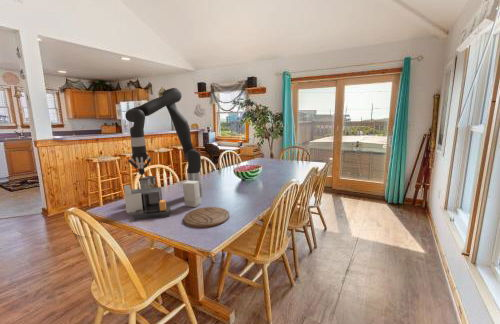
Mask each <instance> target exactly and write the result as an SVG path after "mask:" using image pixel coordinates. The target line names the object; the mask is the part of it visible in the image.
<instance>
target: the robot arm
mask: <svg viewBox="0 0 500 324" xmlns="http://www.w3.org/2000/svg"><path fill="white" fill-rule="evenodd" d="M182 98H183V97H182V92H181V91H180V89H178V88H176V87H171V88H167V89H165V90H163V91H162V93H161V96H159V97H157V98H154V99H151V100H149V101H146V102H144V103H142V104H140V105H139V106H136V107H135V106H134V107H132V108H129V109H128V110H126V112H125V115H124V116H125V119H126V120H127V121H128V122H130V123H133V125H132V126H131V127H130V128H129V132H130V133H129V134H130V146H131V154H132V155H131V158H130V159H128V163H129V164H130V165H132V166H133V167H134V168H135V169H138V174H139V175H140V176H144V175H145V171H146V170H145V168H147V167H148V166H149V164H150V163H151V161H153V160H152V159H153V158H151V157H149V155H148V153H147V145H146V143H147V142H146V139H145V138H146V137H145V131H144V130H145V129H144V128H145V122H146V117H148V116H151V115H153V114H155V113H156V112H158V111H159V110H162V109H163V108H166V109H167V111H168V113H169V116H170V119H171V122H172V124H173V127H174V129H175V133H176V134H177V138H178V139H179V142H180V144H181V148H182V152H183V155H184V156H183V157H184V158H185V161H186V162H187V169H186V173H187V175H186V176H187V181H198V182H199V192H200V197H202V196H203V192H202V191H203V190H202V178H201V177H202V176H201V168H202V157H201V153H200V152H199V151H198V150H196V149H195V147H194V145H193V143H192V137H191V129H190V125H189V123H188V120H187V119H186V118H185V117H184V115H183V114H182V113H181V112H180V111H179V109H178V107H177V105H176V103H179V102H180V100H181V99H182ZM146 161H147V162H146ZM145 162H146V163H145Z"/></svg>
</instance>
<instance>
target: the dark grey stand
mask: <svg viewBox="0 0 500 324" xmlns="http://www.w3.org/2000/svg"><path fill="white" fill-rule="evenodd" d="M139 193H141V196H142V205H143V209H152V208H160V205H159V202H160V200H163V196H162V195H163V194H162V187H161V186H156V188H144V189H141V188H135V189H133V188H132V189H131V194H139ZM134 213H135V212H131V213H127V214H128V216H131V215H132V216H133V215H134Z"/></svg>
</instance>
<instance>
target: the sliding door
mask: <svg viewBox="0 0 500 324" xmlns="http://www.w3.org/2000/svg"><path fill="white" fill-rule="evenodd" d="M123 189H124V190H123V192H124V203H125V210H126V214H128V213H131V212H136V210H143V205H142V196H141V193H139V194H131V190H132V189H131V184H127V185H123Z"/></svg>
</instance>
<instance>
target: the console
mask: <svg viewBox="0 0 500 324" xmlns="http://www.w3.org/2000/svg"><path fill="white" fill-rule="evenodd" d="M170 215H171V206H166V210H163V211H160V208H152V209H143V210H136V212H135V213H134V215H132V216H133V221H141V220H149V219H151V220H152V219H160V218H169V217H170Z"/></svg>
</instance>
